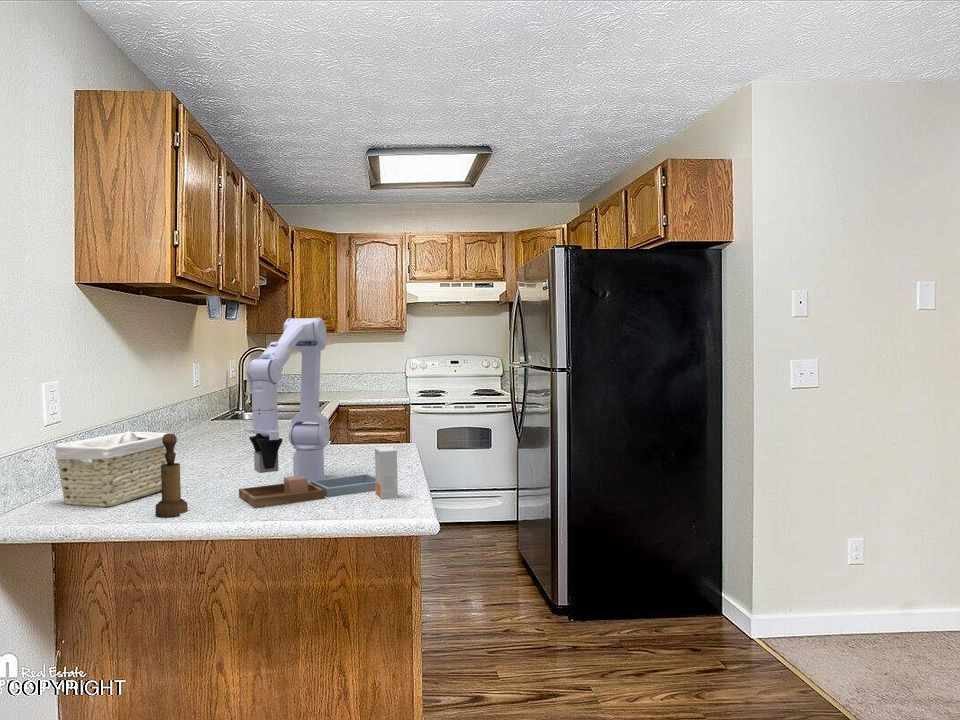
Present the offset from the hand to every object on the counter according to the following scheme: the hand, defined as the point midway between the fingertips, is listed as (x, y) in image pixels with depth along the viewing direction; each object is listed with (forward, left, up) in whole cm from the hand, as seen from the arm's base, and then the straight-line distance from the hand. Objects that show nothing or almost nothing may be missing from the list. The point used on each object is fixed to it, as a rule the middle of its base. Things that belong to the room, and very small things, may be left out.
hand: (266, 466), depth 172 cm
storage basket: (-28, -29, -9) cm, 41 cm away
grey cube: (0, 0, -1) cm, 1 cm away
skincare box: (+13, +25, -9) cm, 29 cm away
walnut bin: (0, +3, -8) cm, 9 cm away
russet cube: (0, +7, -8) cm, 11 cm away
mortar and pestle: (-1, -21, -9) cm, 23 cm away
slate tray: (0, +20, -8) cm, 22 cm away
